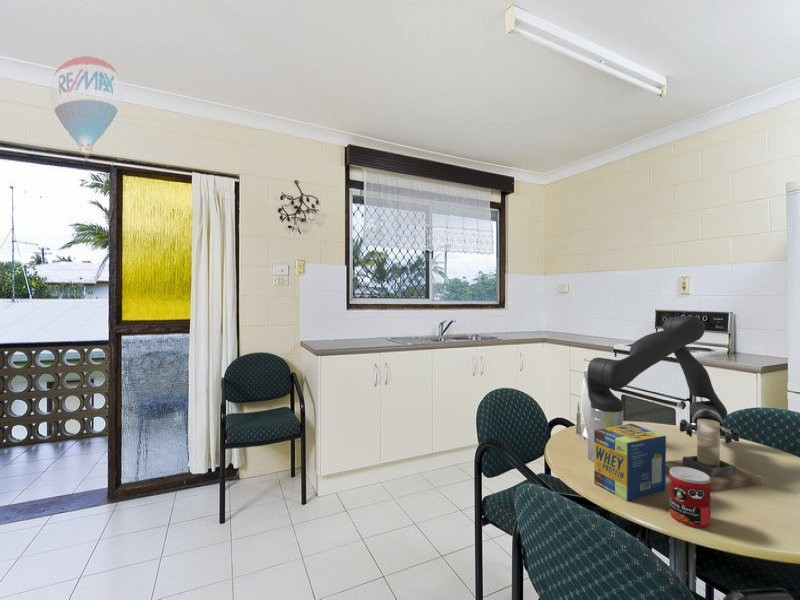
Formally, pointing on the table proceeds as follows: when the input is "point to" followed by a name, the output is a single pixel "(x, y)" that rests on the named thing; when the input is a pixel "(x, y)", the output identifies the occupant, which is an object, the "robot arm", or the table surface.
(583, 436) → the skyscraper
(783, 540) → the table surface
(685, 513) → the canned food
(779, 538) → the table surface
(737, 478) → the base board
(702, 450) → the birch column
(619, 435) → the protein box
